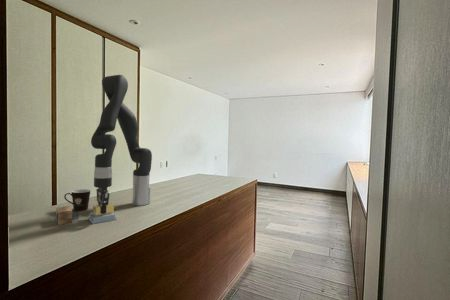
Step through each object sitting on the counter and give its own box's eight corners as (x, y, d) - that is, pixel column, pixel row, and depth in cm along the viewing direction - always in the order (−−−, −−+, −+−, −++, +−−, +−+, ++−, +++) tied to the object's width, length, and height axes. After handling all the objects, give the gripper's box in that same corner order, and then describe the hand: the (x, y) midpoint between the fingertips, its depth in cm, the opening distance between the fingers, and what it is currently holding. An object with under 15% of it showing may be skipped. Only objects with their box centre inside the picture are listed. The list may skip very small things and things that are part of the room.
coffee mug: (93, 208, 130) (94, 190, 130) (80, 212, 122) (80, 193, 121) (76, 205, 133) (77, 188, 133) (62, 210, 125) (62, 191, 125)
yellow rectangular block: (110, 210, 119) (110, 202, 118) (113, 212, 116) (114, 204, 116) (92, 213, 113) (93, 205, 113) (95, 216, 110) (96, 207, 110)
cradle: (110, 215, 121) (111, 209, 120) (116, 219, 114) (116, 214, 114) (88, 218, 114) (88, 213, 114) (92, 223, 108) (92, 218, 108)
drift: (75, 218, 115) (75, 211, 115) (78, 219, 113) (78, 213, 113) (54, 223, 107) (54, 216, 107) (57, 224, 106) (57, 217, 105)
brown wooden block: (69, 217, 114) (69, 206, 114) (71, 222, 108) (72, 210, 107) (56, 219, 111) (56, 207, 111) (58, 225, 104) (58, 212, 104)
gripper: (116, 178, 110) (115, 214, 111) (107, 173, 121) (106, 207, 122) (98, 179, 105) (97, 217, 106) (90, 174, 116) (89, 209, 117)
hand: (102, 212), depth 114 cm, fingers closed on yellow rectangular block, 4 cm apart
